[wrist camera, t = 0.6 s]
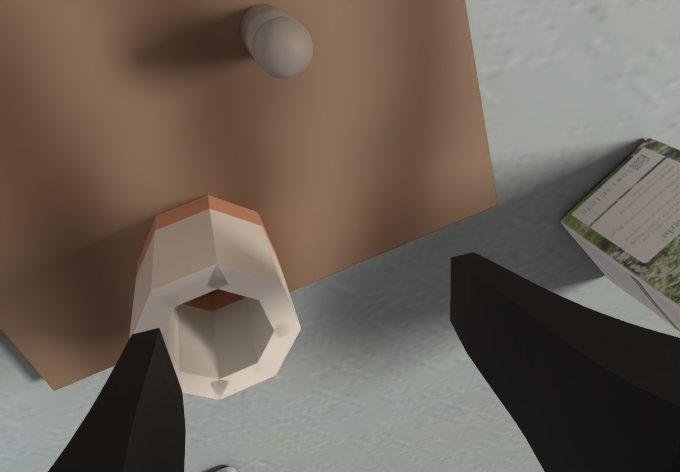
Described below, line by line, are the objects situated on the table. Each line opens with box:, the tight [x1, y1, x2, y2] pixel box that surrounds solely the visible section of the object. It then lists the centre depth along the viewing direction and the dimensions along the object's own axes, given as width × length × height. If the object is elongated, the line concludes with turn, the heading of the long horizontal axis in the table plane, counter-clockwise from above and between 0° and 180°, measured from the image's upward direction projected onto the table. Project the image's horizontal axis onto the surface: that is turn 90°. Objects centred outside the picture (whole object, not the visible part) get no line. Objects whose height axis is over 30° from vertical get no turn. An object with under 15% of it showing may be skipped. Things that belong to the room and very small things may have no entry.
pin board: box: [0, 0, 498, 391], centre depth 18 cm, size 20×14×5 cm
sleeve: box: [129, 195, 301, 400], centre depth 19 cm, size 5×5×5 cm
